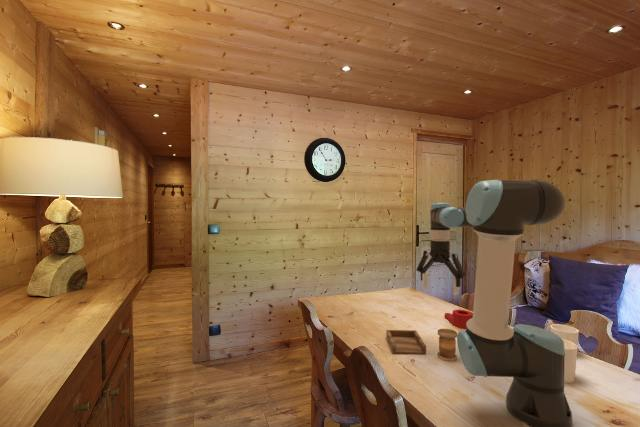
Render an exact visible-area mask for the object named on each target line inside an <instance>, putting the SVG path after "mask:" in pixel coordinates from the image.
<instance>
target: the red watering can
mask: <svg viewBox="0 0 640 427" xmlns="http://www.w3.org/2000/svg"><path fill="white" fill-rule="evenodd" d="M471 318H473V312H472V311H471V310H466V309H453V310H452V313H450V312H445V313H444V319H445V320H446V319H447V320H448V321H449V323H450V324H451V325H452V326H453V327H454V326H455V328H456V327H457V329H461V330H466V323H467V321H468V320H470V319H471ZM448 321H447V322H448Z"/></svg>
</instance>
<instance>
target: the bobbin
mask: <svg viewBox="0 0 640 427" xmlns="http://www.w3.org/2000/svg"><path fill="white" fill-rule="evenodd" d="M457 334H458V332H457V331H455V330H453V329H450V328H439V329H438V330H437V335H438V336H439V337H438V351H437V358H438V359H440V360H441V361H445V362H456V361H457V360H458V355H457V354H456V352H457V351H456V350H457V349H456V348H457V346H456V345H457Z"/></svg>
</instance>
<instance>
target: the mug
mask: <svg viewBox="0 0 640 427" xmlns="http://www.w3.org/2000/svg"><path fill="white" fill-rule="evenodd" d="M549 327H550V332H553V333H554V334H556V335H558V336H559V337H560V338H561V339H564V340H568V341H570V342H573V343H574V344H576V345H577V346H578V347H579V333H580V330H579V329H577V328H576V327H573V326H570V325H567V324H559V323H557V324H555V323H554V324H551V325H550V326H549Z"/></svg>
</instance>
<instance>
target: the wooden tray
mask: <svg viewBox="0 0 640 427" xmlns="http://www.w3.org/2000/svg"><path fill="white" fill-rule="evenodd" d="M385 337H386V341H387V342H388V345H389V347H390V351H391V353H392V354H393V355H419V356H420V355H422V356H423V355H427V345H426V344H425V342H424V340H423V339H422V337H421V336H420V334H419V333H418V331H417V330H414V329H413V330H408V329H406V330H405V329H404V330H403V329H386V334H385Z"/></svg>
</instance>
